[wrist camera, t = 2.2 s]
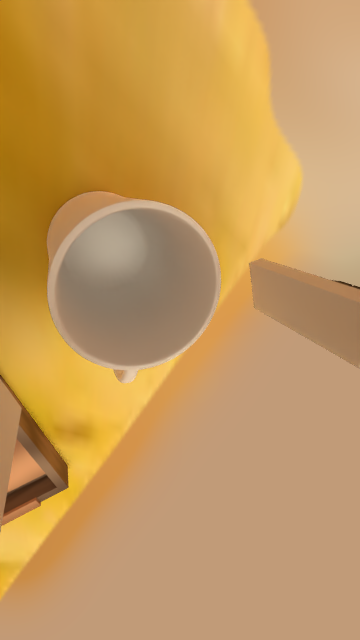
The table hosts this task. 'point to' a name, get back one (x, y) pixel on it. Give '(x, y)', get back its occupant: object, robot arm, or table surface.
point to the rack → (32, 469)
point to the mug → (129, 280)
